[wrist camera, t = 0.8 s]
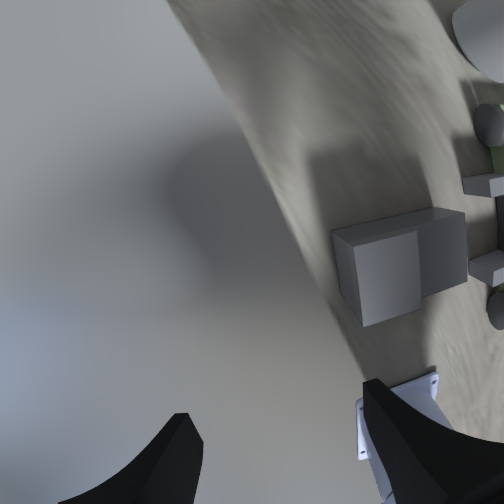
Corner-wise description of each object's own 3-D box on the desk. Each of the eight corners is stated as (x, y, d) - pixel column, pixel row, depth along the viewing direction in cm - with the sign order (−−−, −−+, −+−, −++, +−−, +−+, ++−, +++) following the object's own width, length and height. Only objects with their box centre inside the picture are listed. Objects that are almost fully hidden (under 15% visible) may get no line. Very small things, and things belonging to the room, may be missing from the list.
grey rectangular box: (439, 266, 18) (477, 286, 14) (341, 295, 19) (363, 327, 14) (434, 206, 17) (475, 215, 13) (330, 231, 18) (353, 246, 13)
